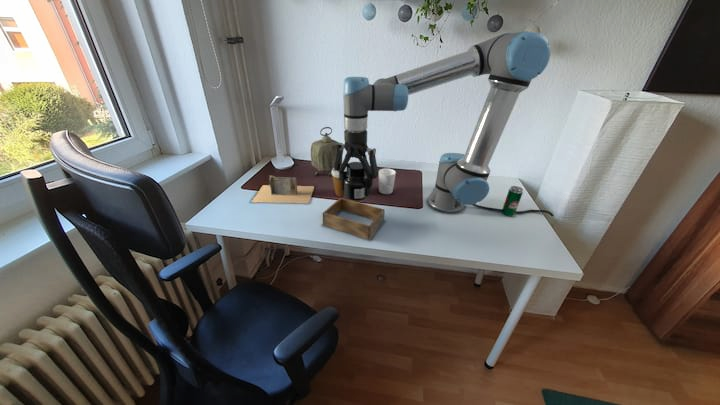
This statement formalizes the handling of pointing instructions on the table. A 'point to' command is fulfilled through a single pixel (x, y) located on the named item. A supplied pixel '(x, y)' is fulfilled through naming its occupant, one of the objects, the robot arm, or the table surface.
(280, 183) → the architectural model on board
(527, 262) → the table surface
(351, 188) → the ink bottle
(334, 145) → the tabletop clock
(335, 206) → the wooden box
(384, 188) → the white cup
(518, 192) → the soda can
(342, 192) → the disposable coffee cup
